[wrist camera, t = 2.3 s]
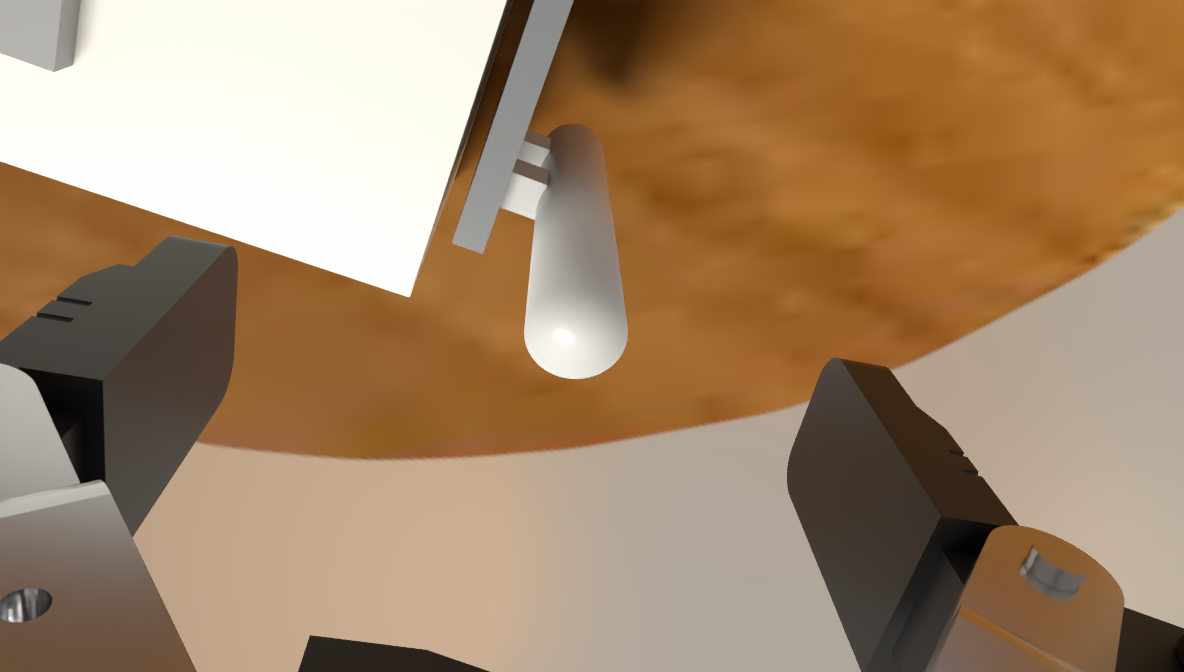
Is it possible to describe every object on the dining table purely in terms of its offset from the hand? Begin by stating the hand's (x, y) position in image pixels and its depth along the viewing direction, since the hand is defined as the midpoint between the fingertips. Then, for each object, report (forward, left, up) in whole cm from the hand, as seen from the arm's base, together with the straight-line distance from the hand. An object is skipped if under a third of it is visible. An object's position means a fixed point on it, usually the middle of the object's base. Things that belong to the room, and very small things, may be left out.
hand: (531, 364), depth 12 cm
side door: (-1, -3, -26) cm, 26 cm away
